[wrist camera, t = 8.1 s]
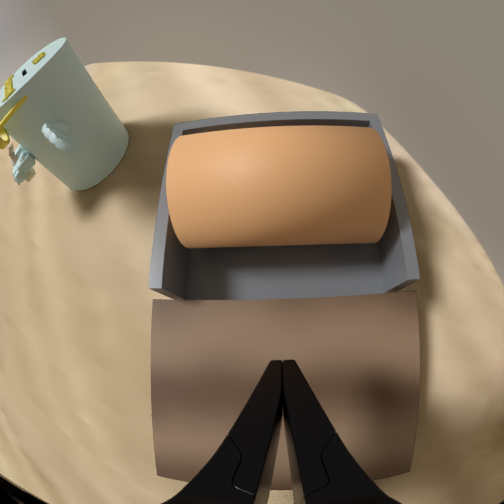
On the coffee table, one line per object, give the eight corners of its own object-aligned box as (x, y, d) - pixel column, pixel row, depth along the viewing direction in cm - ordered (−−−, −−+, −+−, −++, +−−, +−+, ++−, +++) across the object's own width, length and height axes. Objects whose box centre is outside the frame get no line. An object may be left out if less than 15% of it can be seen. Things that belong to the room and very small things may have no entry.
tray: (391, 293, 17) (420, 278, 13) (178, 300, 18) (148, 288, 14) (365, 151, 21) (377, 113, 16) (191, 159, 22) (174, 124, 18)
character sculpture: (35, 163, 26) (-25, 106, 14) (96, 102, 28) (49, 32, 15) (81, 265, 20) (-43, 197, 8) (173, 171, 22) (97, 43, 9)
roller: (400, 157, 10) (375, 267, 15) (359, 113, 15) (351, 200, 20) (153, 167, 12) (189, 272, 16) (191, 120, 17) (209, 205, 21)
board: (396, 458, 13) (409, 471, 11) (171, 462, 15) (157, 475, 12) (400, 297, 17) (416, 290, 14) (168, 304, 18) (152, 299, 16)
